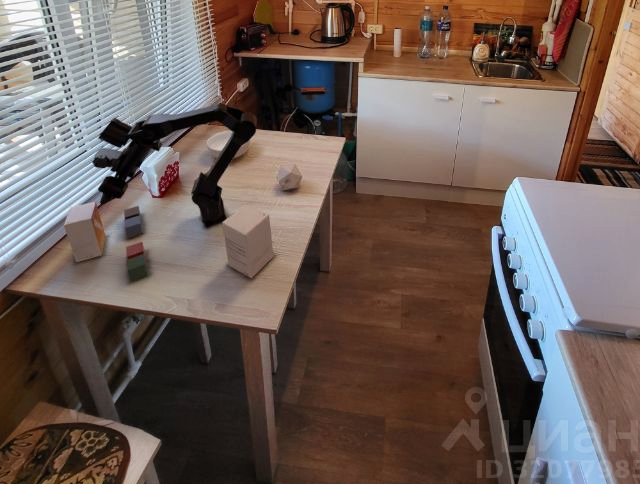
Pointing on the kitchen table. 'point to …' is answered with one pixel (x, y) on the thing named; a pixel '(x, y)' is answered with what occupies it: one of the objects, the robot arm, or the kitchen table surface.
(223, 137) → the cereal bowl
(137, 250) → the brick red block
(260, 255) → the rectangular carton
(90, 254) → the small box
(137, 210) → the walnut block
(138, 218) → the slate blue block
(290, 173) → the die
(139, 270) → the dark green block
